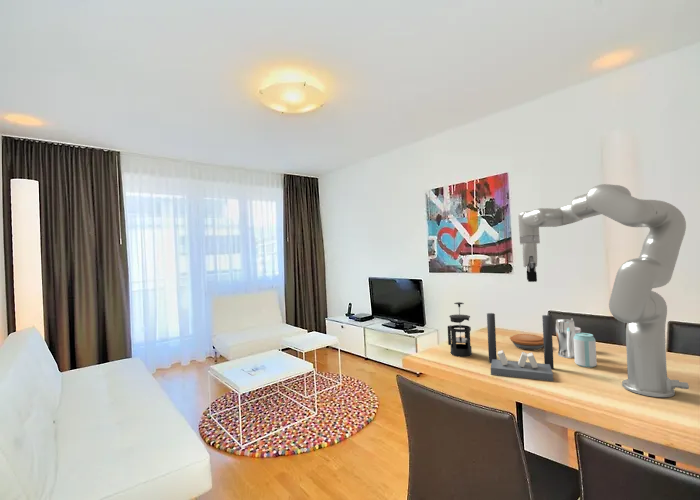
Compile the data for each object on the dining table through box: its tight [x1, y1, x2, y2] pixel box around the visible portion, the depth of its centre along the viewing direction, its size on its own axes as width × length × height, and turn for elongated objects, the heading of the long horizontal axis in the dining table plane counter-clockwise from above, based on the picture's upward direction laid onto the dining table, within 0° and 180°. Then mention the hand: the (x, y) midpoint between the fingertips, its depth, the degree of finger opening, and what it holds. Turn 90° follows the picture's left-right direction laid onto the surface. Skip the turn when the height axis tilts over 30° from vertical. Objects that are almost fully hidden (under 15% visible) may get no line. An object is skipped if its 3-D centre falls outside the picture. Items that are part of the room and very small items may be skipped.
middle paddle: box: [518, 351, 528, 368], centre depth 127 cm, size 2×4×4 cm, turn 155°
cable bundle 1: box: [486, 312, 498, 364], centre depth 140 cm, size 3×3×20 cm
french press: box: [447, 301, 473, 358], centre depth 154 cm, size 12×9×23 cm
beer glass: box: [555, 318, 576, 359], centre depth 145 cm, size 7×7×15 cm
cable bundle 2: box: [541, 314, 555, 370], centre depth 132 cm, size 3×3×20 cm
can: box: [574, 332, 598, 369], centre depth 133 cm, size 7×7×12 cm
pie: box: [509, 333, 544, 351], centre depth 161 cm, size 15×16×5 cm
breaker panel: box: [490, 358, 554, 382], centre depth 128 cm, size 20×11×2 cm, turn 65°
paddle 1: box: [497, 349, 509, 365], centre depth 130 cm, size 2×4×4 cm, turn 155°
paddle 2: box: [526, 352, 538, 368], centre depth 126 cm, size 2×4×4 cm, turn 155°
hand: (531, 280), depth 145 cm, fingers open, 9 cm apart
